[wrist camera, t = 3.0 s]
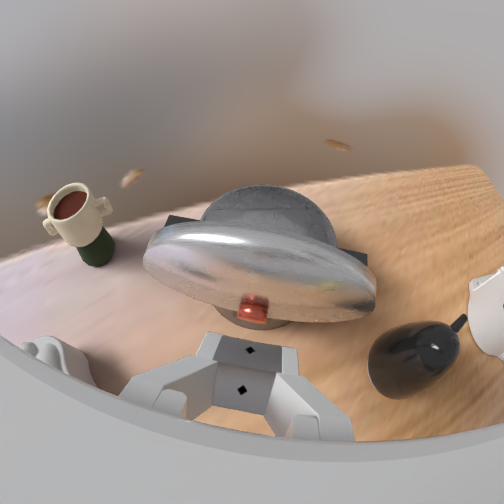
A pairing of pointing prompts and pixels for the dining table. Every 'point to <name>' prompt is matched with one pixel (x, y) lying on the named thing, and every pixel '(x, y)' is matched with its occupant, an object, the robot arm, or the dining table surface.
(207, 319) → the dining table surface
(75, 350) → the grey paw print block
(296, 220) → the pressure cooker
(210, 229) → the pressure cooker lid
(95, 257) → the character mug
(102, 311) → the dining table surface
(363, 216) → the dining table surface
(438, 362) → the pump dispenser
